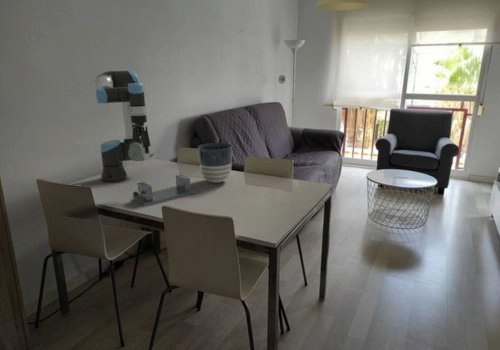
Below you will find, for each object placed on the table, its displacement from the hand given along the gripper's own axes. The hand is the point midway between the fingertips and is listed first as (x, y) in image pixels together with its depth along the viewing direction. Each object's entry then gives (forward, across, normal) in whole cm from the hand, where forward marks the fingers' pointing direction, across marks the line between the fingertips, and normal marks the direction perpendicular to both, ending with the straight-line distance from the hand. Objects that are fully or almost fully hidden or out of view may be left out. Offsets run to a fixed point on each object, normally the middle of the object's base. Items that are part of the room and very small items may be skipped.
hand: (142, 157), depth 192 cm
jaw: (+19, +8, -6) cm, 21 cm away
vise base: (+21, +7, +6) cm, 23 cm away
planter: (+21, +3, +42) cm, 47 cm away
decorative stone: (+1, 0, 0) cm, 1 cm away
